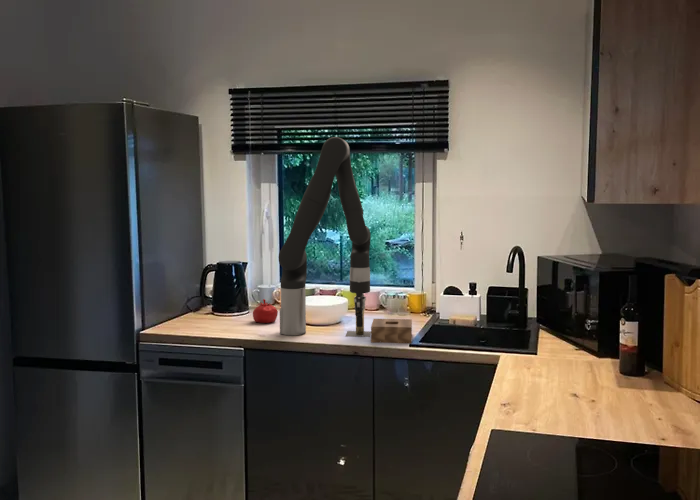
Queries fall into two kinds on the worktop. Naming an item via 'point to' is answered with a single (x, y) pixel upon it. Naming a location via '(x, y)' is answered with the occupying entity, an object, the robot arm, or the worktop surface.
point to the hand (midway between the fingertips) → (359, 325)
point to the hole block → (391, 331)
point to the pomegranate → (265, 313)
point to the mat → (353, 334)
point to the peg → (360, 329)
